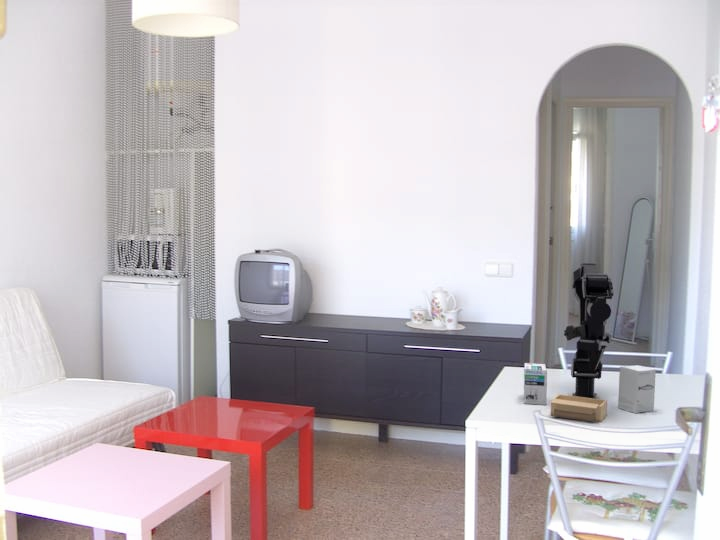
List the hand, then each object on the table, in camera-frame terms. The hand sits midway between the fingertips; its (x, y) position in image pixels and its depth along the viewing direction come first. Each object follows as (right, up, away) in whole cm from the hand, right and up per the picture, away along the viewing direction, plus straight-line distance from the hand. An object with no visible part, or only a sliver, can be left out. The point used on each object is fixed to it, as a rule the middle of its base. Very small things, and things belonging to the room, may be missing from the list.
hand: (593, 370), depth 223 cm
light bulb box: (-14, -11, +12) cm, 22 cm away
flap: (-9, -8, -11) cm, 16 cm away
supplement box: (+13, -12, +3) cm, 18 cm away
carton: (-6, -12, -5) cm, 15 cm away
